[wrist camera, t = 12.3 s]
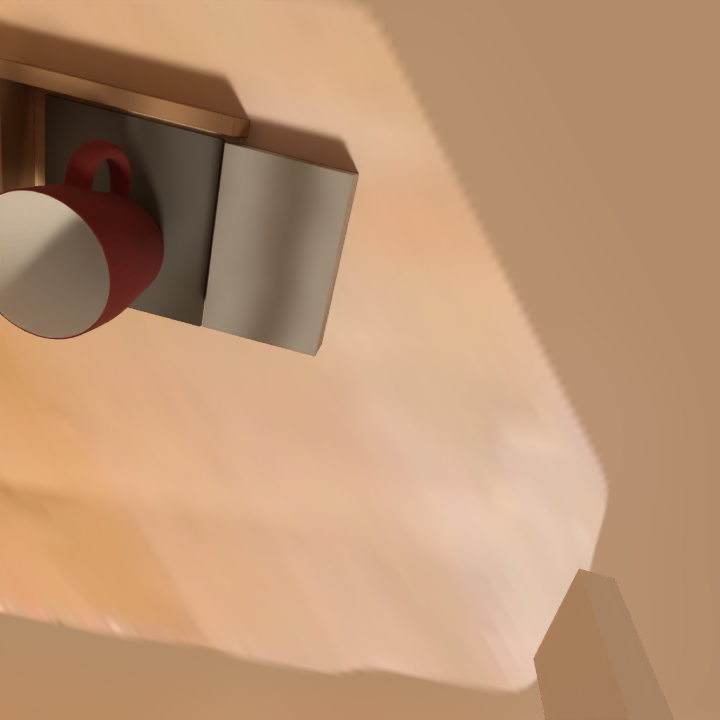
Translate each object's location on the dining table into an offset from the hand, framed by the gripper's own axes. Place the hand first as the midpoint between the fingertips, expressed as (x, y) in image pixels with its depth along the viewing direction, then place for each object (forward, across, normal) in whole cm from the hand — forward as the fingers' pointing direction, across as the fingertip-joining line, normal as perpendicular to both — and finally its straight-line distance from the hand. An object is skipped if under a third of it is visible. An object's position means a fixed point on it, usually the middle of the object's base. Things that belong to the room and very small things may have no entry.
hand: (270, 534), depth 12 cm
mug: (+27, -17, -1) cm, 32 cm away
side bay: (+27, -14, 0) cm, 30 cm away
